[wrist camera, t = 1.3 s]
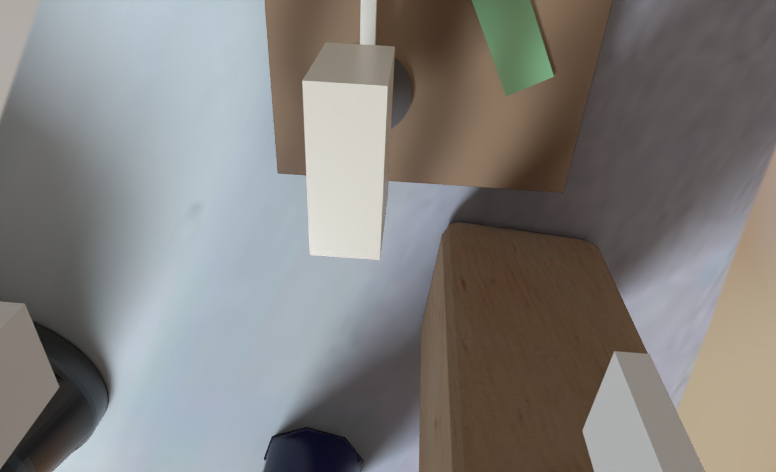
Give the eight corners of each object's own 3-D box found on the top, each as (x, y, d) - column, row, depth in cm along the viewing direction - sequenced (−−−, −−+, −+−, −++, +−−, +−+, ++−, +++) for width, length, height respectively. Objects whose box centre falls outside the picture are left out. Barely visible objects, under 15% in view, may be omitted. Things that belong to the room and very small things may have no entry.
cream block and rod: (339, 158, 29) (309, 254, 22) (338, -152, 21) (291, -168, 14) (391, 162, 29) (379, 259, 21) (408, -148, 21) (399, -162, 14)
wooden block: (444, 213, 34) (462, 533, 17) (600, 235, 34) (764, 573, 18) (418, 328, 40) (413, 655, 23) (552, 347, 40) (644, 684, 23)
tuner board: (286, 155, 32) (276, 175, 30) (265, -181, 24) (248, -187, 21) (554, 173, 32) (564, 195, 30) (635, -162, 23) (657, -166, 21)
